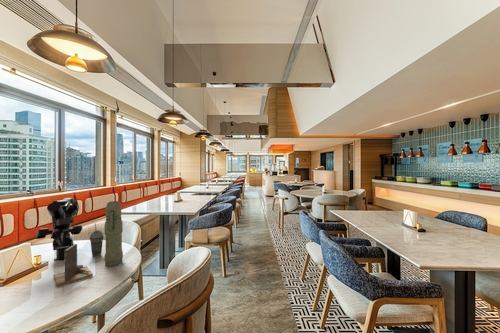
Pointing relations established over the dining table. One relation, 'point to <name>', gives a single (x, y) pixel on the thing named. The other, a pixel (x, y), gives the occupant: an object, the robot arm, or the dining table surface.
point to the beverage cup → (96, 242)
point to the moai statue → (113, 234)
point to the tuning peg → (72, 262)
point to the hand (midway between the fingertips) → (62, 245)
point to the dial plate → (77, 277)
